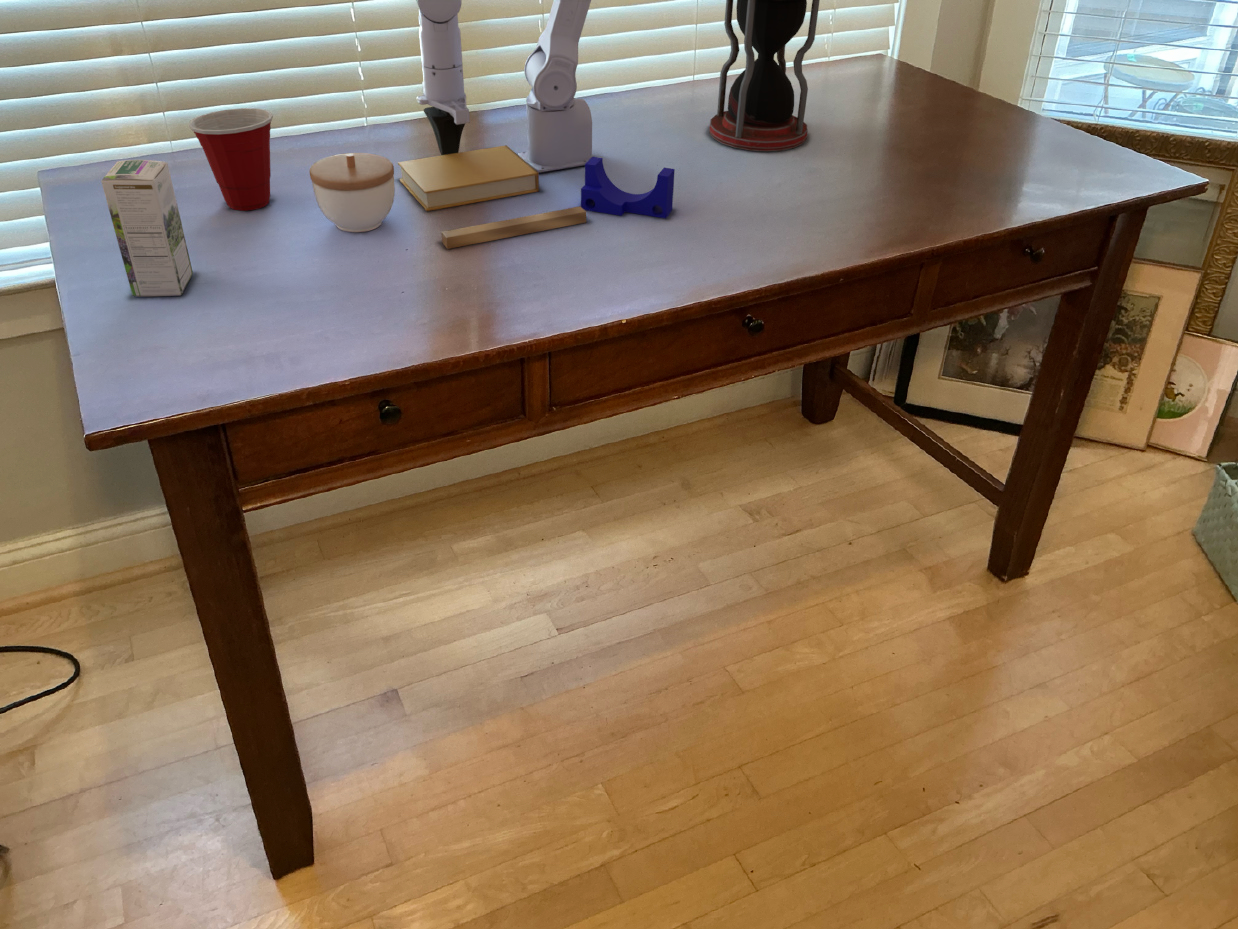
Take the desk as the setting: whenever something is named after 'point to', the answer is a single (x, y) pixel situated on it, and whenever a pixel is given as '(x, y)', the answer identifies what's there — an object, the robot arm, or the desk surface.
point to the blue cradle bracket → (625, 193)
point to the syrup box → (148, 227)
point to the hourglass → (764, 77)
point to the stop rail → (513, 227)
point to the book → (468, 177)
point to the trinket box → (354, 189)
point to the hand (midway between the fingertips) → (449, 156)
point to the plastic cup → (238, 154)
